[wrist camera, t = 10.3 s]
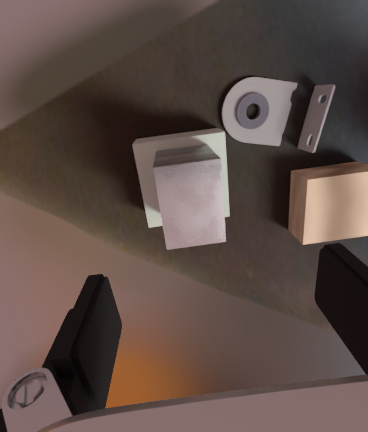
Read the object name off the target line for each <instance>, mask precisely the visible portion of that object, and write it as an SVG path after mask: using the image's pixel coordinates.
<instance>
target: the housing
mask: <svg viewBox="0 0 368 432" xmlns="http://www.w3.org/2000/svg"><path fill="white" fill-rule="evenodd" d="M153 172H154V177H155V183H156V189H157V195H158V201H159V207H160V212H161V218H162V224H163V230H164V236H165V241H166V247H167V250H169V249H176V248H183V247H190V246H198V245H205V244H212V243H220V242H226V234H225V218H224V201H223V185H222V169H221V158H220V157H219V156H218V155H217V154H216V153H215V152H214V151H213V150H212V149H211V148H210V147H209V146H208V145H207V144H204V145H197V146H189V147H182V148H174V149H167V150H159V151H156V154H155V159H154V164H153Z"/></svg>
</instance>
